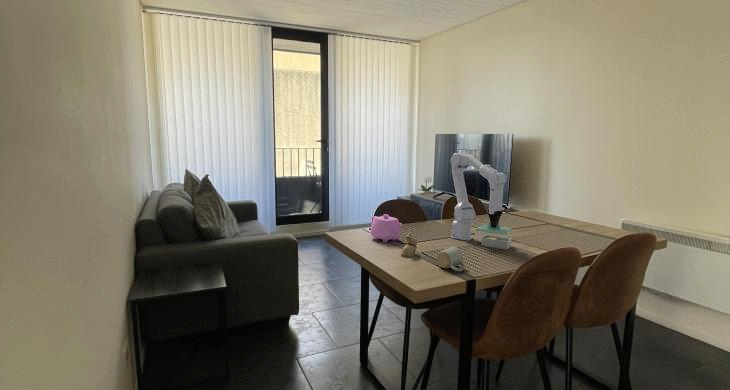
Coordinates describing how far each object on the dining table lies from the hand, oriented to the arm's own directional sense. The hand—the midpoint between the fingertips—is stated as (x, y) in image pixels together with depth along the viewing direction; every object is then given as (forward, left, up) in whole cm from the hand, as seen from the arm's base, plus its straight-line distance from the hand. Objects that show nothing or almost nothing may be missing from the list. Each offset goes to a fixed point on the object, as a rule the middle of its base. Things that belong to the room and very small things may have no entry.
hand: (494, 226), depth 185 cm
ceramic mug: (-6, -39, -10) cm, 41 cm away
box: (+1, +4, -10) cm, 11 cm away
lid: (0, 0, -2) cm, 2 cm away
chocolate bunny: (-27, -34, -10) cm, 45 cm away
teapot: (-48, -18, -10) cm, 53 cm away
